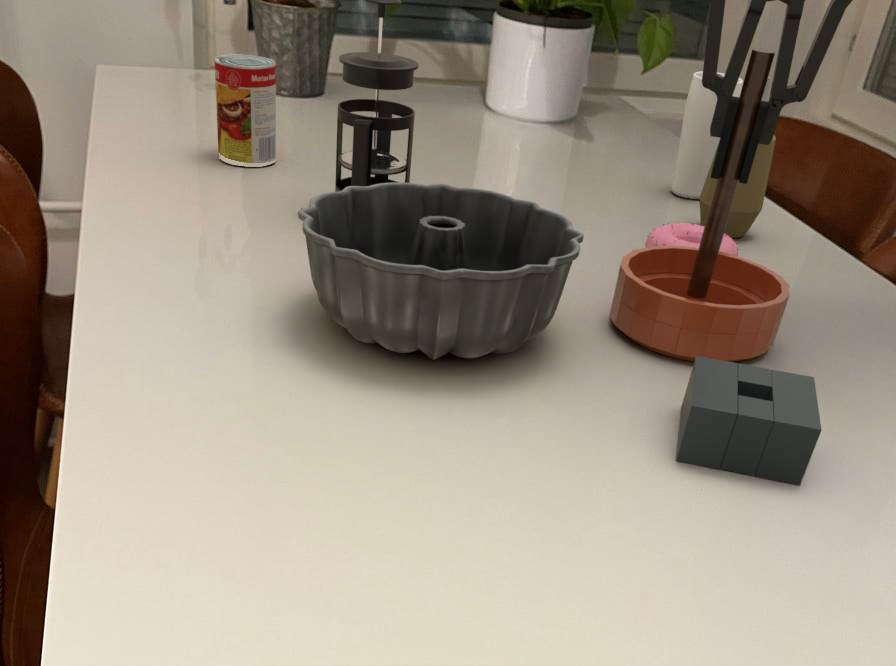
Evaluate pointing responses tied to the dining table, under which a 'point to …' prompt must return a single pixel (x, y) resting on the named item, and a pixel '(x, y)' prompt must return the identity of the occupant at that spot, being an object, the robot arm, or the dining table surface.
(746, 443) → the holder
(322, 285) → the bundt pan
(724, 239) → the doughnut
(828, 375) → the dining table surface
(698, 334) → the bowl
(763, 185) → the squeeze bottle
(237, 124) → the canned food
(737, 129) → the stick
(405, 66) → the french press
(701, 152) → the drinking glass
